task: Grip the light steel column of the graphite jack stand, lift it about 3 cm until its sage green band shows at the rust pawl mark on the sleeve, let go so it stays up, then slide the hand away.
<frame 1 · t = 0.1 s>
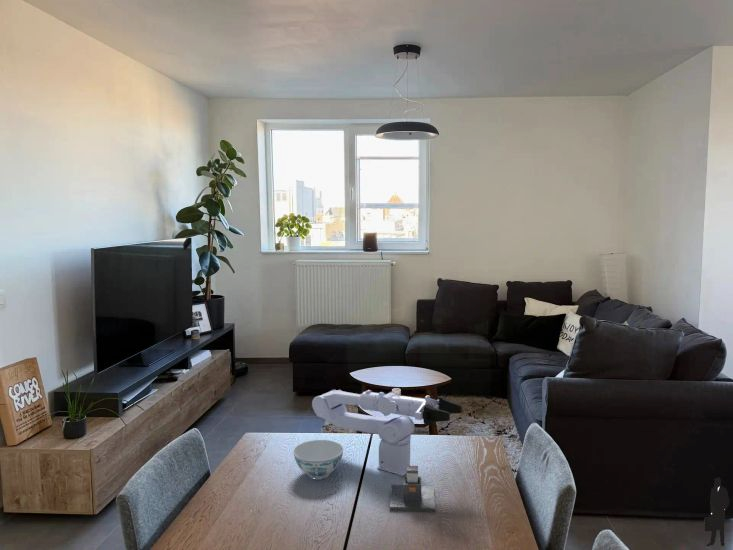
hand: (455, 412, 151), 22 cm above the table, tool horizontal, fingers open, 7 cm apart
column: (412, 481, 145), point 5 cm above the table, slide at 0.0 cm
chinaware: (318, 475, 160), on the table
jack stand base: (412, 499, 145), on the table
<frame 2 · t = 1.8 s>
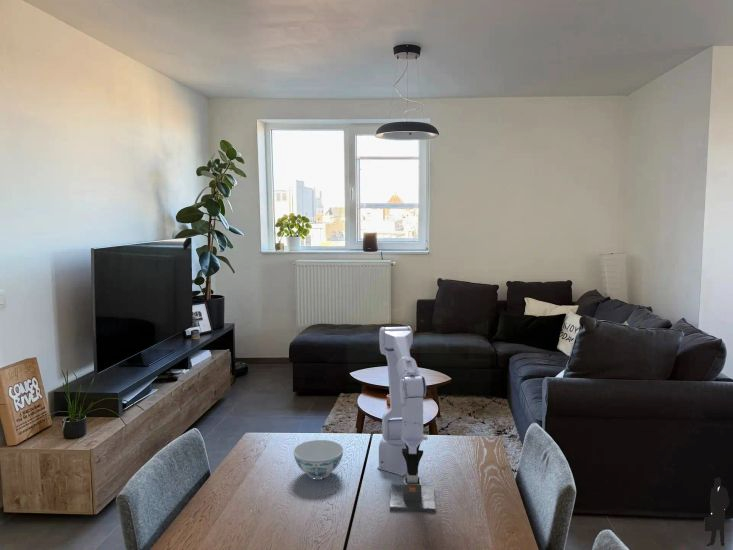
hand: (412, 468, 144), 9 cm above the table, tool pointing down, fingers open, 7 cm apart
nothing on the table moved.
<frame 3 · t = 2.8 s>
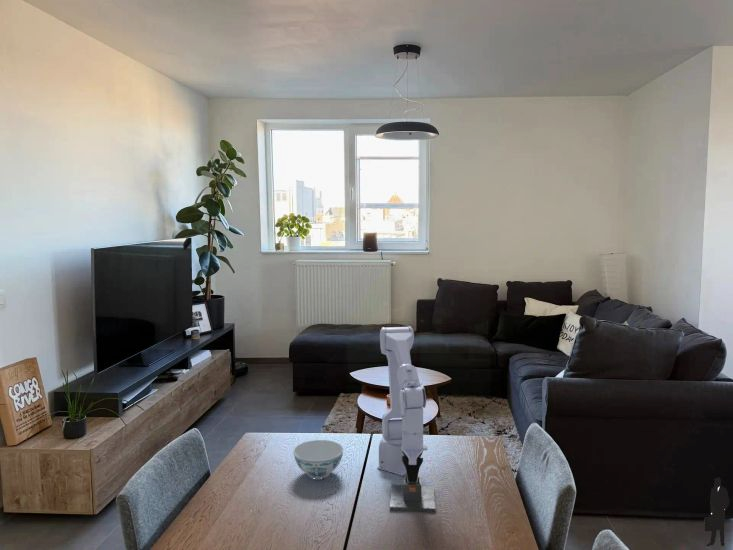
hand: (412, 478, 144), 6 cm above the table, tool pointing down, fingers closed on column, 3 cm apart
column: (412, 481, 145), point 5 cm above the table, slide at 0.0 cm, touching gripper
everything else where it was.
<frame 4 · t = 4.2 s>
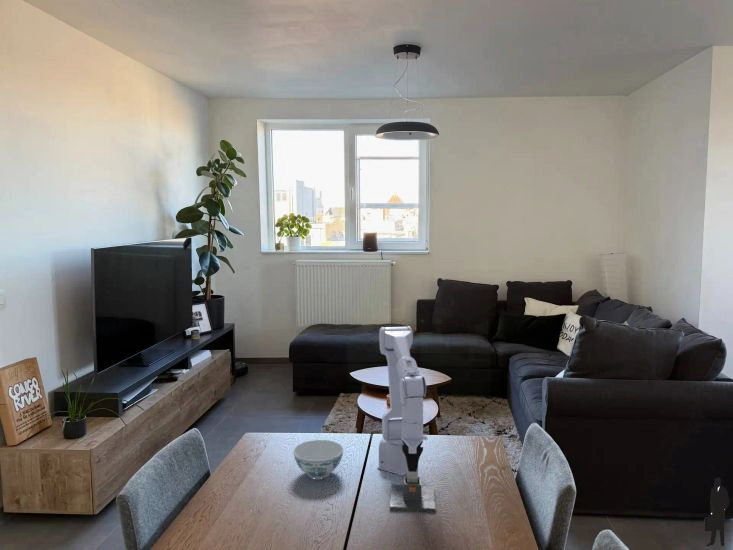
hand: (412, 468, 144), 9 cm above the table, tool pointing down, fingers closed on column, 3 cm apart
column: (412, 471, 144), point 8 cm above the table, slide at 2.9 cm, touching gripper
everything else where it was.
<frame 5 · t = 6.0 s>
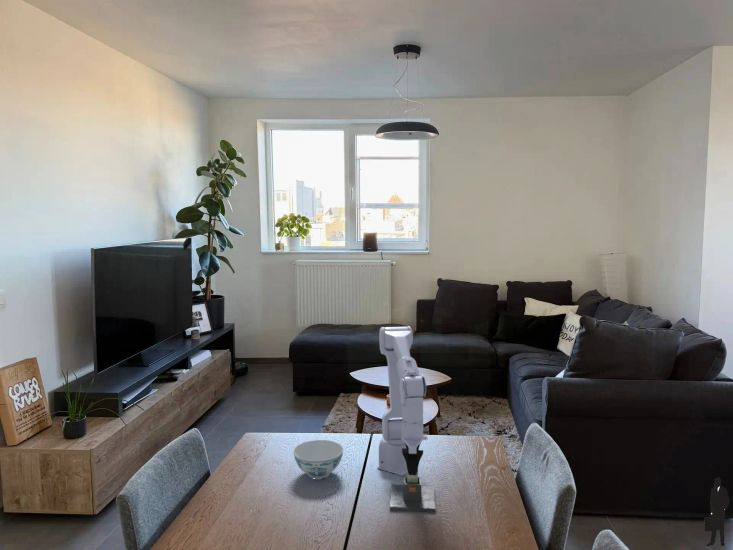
hand: (412, 468, 144), 9 cm above the table, tool pointing down, fingers open, 7 cm apart
column: (412, 471, 144), point 8 cm above the table, slide at 2.9 cm
everything else where it was.
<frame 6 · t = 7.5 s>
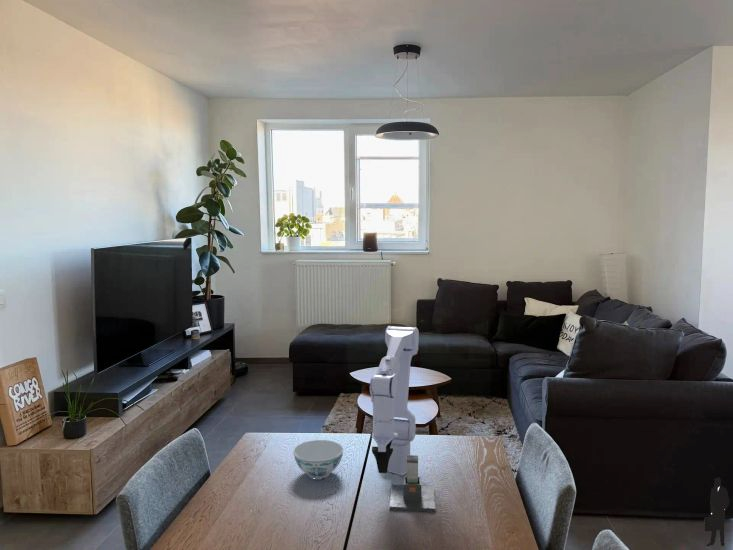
hand: (383, 466, 145), 9 cm above the table, tool pointing down, fingers open, 7 cm apart
nothing on the table moved.
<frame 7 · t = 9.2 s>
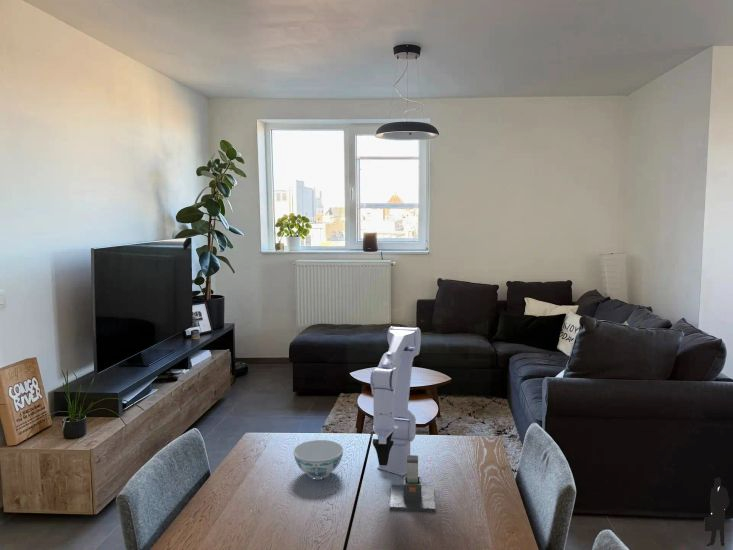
hand: (384, 458, 147), 10 cm above the table, tool pointing down, fingers open, 7 cm apart
nothing on the table moved.
at the end: column slide at 2.9 cm; the gripper is holding nothing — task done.
